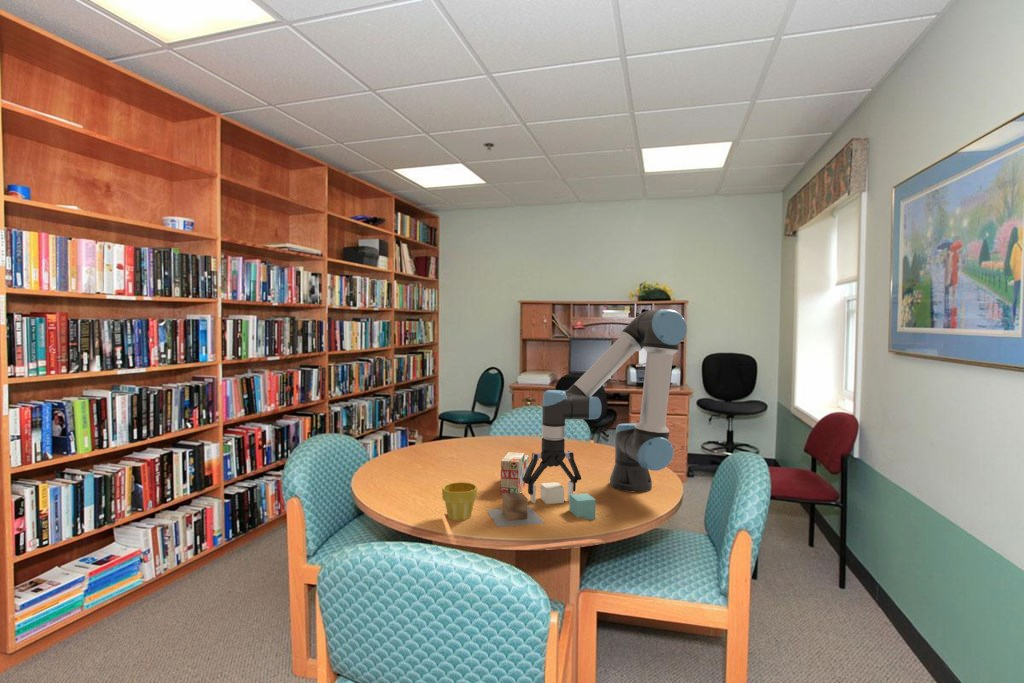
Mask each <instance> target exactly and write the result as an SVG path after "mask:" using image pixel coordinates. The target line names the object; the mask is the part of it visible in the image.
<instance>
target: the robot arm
mask: <svg viewBox="0 0 1024 683" xmlns="http://www.w3.org/2000/svg"><path fill="white" fill-rule="evenodd" d="M687 332H688V325H687V322H686V319H685V318H684V317H683V315H682V314H681V313H680V312H678V311H676V310H674V309H667V308H666V309H665V308H663V309H656V310H655V309H654V310H645V311H644V312H641V313H639V314H638V315H636V317H635V318H633V320H631V321H630V322H629V323H628V324H627V325H626V327H624V329H622V330H621V332H620V334H619V335H620V336H619V337H618V338H617V339H616V340H615V341H614V343H613V344H612V345H611V346H610V347H609V348H607V350H606V351H605V352H604V353H603V354H602V355H601V356H600V357H599V358H598V359H597V360H596V361H595V362H594V363H593V364H592V365H591V366H590V367H589V368H588V369H587V370H586V371H585V372H584V373H583V374H582V375H581V376H580V377H579V379H577V380H576V381H575V382H574V383H573V384H572V385H571V386H570V387H569V388H568V389H566V390H560V389H558V390H557V389H548V390H546V391H544V392H543V394H542V403H541V404H542V405H541V406H542V420H541V421H542V422H541V436H542V438H541V452H540V453H536V452H532V453H531V460H530V463H529V466H528V468H527V471H526V473H525V475H524V477H523V481H524V482H525V483H526V484H527V491H528V494H529V495H530V502H531V503H532V504H536V495H537V494H536V493H537V491H536V489H537V485H536V484H535V483H536V481H537V480H538V479H539V478H540V476H541V475H542V473H543V472H544V471H545V469H547V468H548V467H549V468H552V467H559V466H560V468H561V469H562V471H563V472H564V473H565V474H566V475H567V477H568V478H569V479H570V480H567V500H568V503H569V502H570V495H573V494H574V492H576V489H577V488H576V486H577V485H576V484H577V483H578V481H581V480H582V477H581V476H582V475H581V473H580V471H579V468H578V466H577V464H576V461H575V457H574V452H573V451H571V450H568V451H567V452H565V446H566V445H565V444H566V442H565V441H566V440H565V436H566V420H596V419H599V418H600V417H601V414H602V409H603V408H602V402H601V399H600V398H599V396H593V395H594V394H595V393H596V392H597V391H598V390H599V389H601V387H602V386H603V385H604V384H605V383H606V382H607V381H608V380H609V379H610V378H611V377H612V376H613V375H614V374H615V373H616V372H617V370H619V369H620V368H621V367H622V366H623V365H624V363H626V362H627V361H628V360H629V358H631V357H632V355H634V353H636V352H640V351H642V349H644V350H645V351H646V357H645V358H646V360H645V367H644V376H643V377H644V379H643V387H642V397H641V405H640V406H641V407H640V414H639V422H637V423H630V422H629V423H619V424H618V423H617V425H616V427H615V433H614V434H615V444H614V445H615V447H614V448H615V449H614V450H615V451H614V452H615V453H614V454H615V455H614V466H613V468H612V472H611V474H610V478H609V486H610V485H611V486H610V487H612V488H613V489H615V488H616V489H615V490H618V489H619V491H622V490H624V491H623V492H628V491H635V492H634V493H639V492H638V491H644V492H648V491H650V490H652V486H653V481H652V477H651V474H650V471H652V472H653V471H655V472H656V471H657V472H658V471H660V470H664V469H665V468H666V467H668V466H669V465H670V463H672V460H673V458H674V446H673V445H672V443H671V441H669V440H670V429H669V428H668V427H667V425H666V423H667V414H668V405H669V395H670V386H671V378H672V377H671V376H672V367H673V360H674V359H673V358H674V355H675V354H677V353H678V352H679V350H680V349H679V347H680V343H681V342H682V341H683V340H684V339H685V338H686V336H687ZM565 458H566V459H568V463H569V465H570V467H571V470H572V472H571V471H570V469H569V468H568V467H567V465H566V463H565V462H564V461H563V460H564V459H565ZM540 459H541V461H540V462H539V464H538V461H539V460H540ZM537 464H538V466H537ZM536 466H537V467H536ZM535 468H536V469H535ZM573 474H574V475H573ZM526 484H525V485H526ZM647 490H648V491H647Z"/></svg>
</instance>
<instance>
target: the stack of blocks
mask: <svg viewBox="0 0 1024 683" xmlns="http://www.w3.org/2000/svg"><path fill="white" fill-rule="evenodd" d="M529 457H530V456H529V455H528V454H527V455H526V454H525V452H512V451H508V452H507V454H505V456H504V457H503V458H502V459H501V460H500V489H499V490H500V492H499V493H500V494H499V495H500V496H503V494H508V493H520V492H521V493H522V491H523V489H524V487H525V485H526V484H525V482H524V481H523V477H524V475H525V473H526V471H527V468H528V466H529V464H530V463H529Z"/></svg>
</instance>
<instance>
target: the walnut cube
mask: <svg viewBox="0 0 1024 683" xmlns="http://www.w3.org/2000/svg"><path fill="white" fill-rule="evenodd" d="M528 500H529V499H528V498H527V496H525V494H524V493H523V492H521V493H508V494H503V495H502V508H501V509H502V514H503V515H504V516H505V518H506V519H507V521H511V520H523V519H527V508H528V507H529V506H528V505H529V504H528V502H529V501H528Z"/></svg>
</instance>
